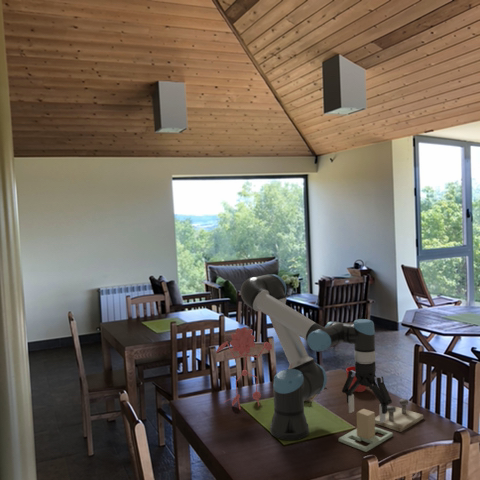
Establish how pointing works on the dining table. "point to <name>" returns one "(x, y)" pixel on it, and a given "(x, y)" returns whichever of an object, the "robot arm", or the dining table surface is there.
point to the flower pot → (360, 387)
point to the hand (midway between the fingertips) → (366, 416)
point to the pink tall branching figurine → (243, 344)
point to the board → (399, 417)
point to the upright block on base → (365, 432)
